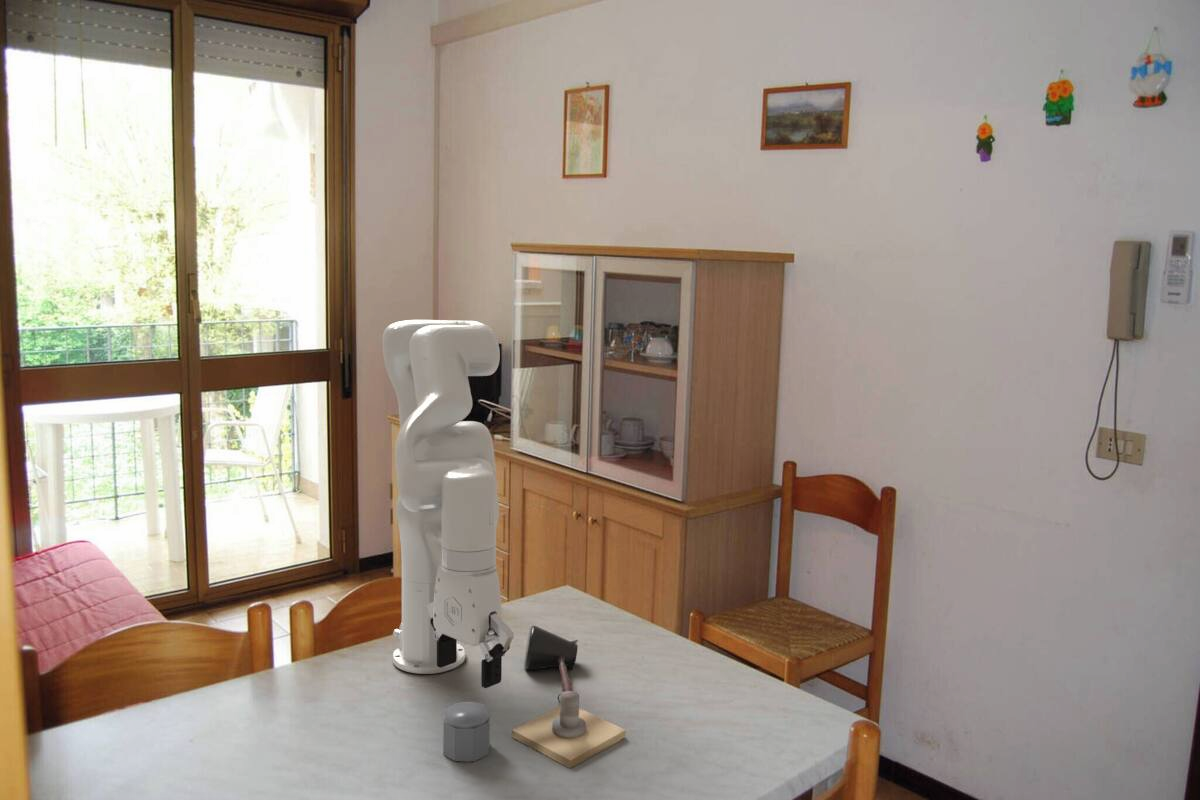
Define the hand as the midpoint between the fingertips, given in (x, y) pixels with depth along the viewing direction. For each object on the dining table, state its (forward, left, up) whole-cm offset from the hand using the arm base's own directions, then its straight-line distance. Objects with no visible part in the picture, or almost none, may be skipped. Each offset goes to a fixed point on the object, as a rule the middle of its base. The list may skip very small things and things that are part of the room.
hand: (468, 674), depth 131 cm
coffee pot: (-8, +25, -12) cm, 29 cm away
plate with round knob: (+7, +13, -12) cm, 19 cm away
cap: (-1, 0, -12) cm, 12 cm away
